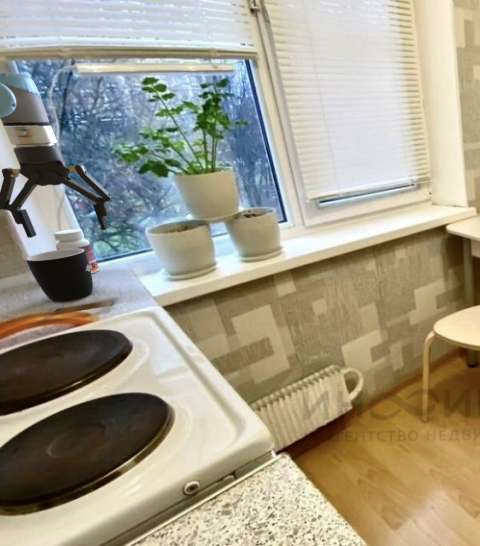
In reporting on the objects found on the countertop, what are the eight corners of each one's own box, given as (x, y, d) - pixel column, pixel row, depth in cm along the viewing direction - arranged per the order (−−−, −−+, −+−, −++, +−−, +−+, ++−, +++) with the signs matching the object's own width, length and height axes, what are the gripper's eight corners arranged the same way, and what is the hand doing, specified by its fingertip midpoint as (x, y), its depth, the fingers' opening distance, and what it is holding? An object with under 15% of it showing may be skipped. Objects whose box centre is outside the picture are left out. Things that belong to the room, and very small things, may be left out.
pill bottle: (104, 268, 113) (89, 227, 110) (92, 275, 108) (76, 233, 104) (75, 271, 111) (59, 229, 108) (61, 278, 106) (44, 235, 102)
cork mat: (42, 326, 81) (41, 323, 81) (57, 311, 87) (56, 308, 87) (103, 315, 85) (102, 313, 85) (114, 302, 92) (113, 299, 91)
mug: (104, 295, 95) (88, 252, 92) (47, 308, 89) (28, 263, 85) (91, 284, 102) (77, 244, 99) (38, 295, 95) (20, 253, 92)
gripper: (-53, 148, 90) (-9, 243, 97) (101, 144, 102) (129, 228, 109) (-34, 147, 96) (6, 236, 103) (109, 142, 108) (136, 223, 115)
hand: (69, 232), depth 106 cm, fingers open, 13 cm apart
